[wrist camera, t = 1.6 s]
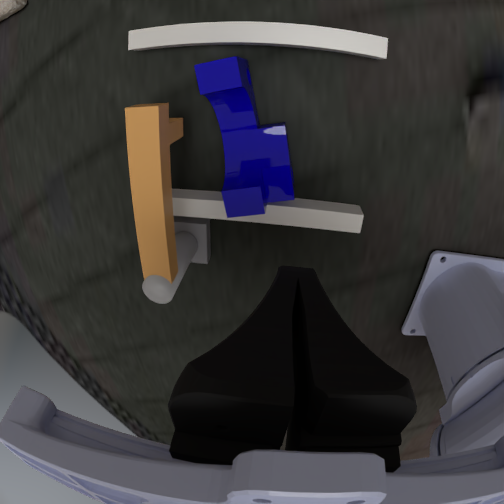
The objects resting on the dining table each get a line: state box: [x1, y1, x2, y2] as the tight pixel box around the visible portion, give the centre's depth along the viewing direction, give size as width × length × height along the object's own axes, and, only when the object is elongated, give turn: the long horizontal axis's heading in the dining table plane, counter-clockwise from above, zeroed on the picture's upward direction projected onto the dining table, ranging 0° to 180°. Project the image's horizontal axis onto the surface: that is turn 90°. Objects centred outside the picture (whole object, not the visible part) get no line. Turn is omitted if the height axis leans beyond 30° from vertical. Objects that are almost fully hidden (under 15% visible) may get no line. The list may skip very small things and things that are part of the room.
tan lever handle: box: [125, 103, 198, 304], centre depth 17 cm, size 10×2×5 cm, turn 178°
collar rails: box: [128, 22, 388, 264], centre depth 18 cm, size 14×15×2 cm
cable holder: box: [194, 56, 295, 218], centre depth 16 cm, size 8×4×4 cm, turn 10°
